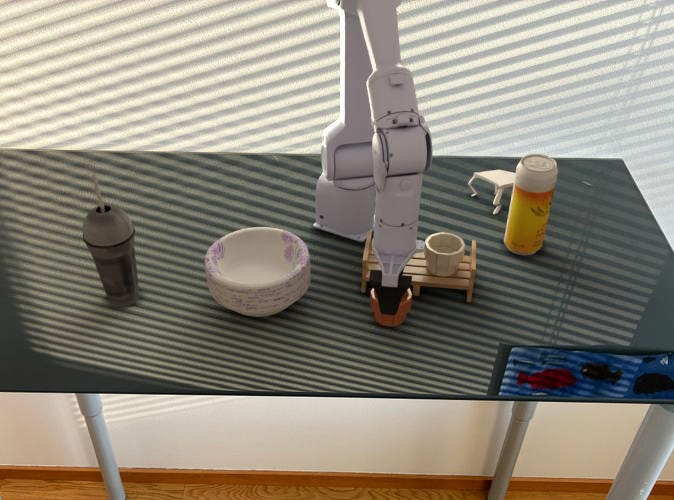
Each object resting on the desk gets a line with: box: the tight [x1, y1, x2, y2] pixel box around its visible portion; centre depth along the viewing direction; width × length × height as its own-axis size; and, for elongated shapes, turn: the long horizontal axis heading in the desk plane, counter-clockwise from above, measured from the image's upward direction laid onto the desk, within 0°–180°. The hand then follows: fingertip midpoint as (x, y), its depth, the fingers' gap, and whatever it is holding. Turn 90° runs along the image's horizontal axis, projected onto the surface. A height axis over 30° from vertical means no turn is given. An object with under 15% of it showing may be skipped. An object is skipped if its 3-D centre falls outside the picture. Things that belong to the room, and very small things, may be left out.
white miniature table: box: [467, 169, 516, 215], centre depth 132 cm, size 12×8×5 cm
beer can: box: [503, 153, 559, 256], centre depth 119 cm, size 6×6×15 cm
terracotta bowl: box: [369, 287, 413, 328], centre depth 110 cm, size 6×6×4 cm
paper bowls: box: [203, 226, 311, 318], centre depth 112 cm, size 15×15×8 cm
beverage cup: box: [82, 174, 140, 308], centre depth 108 cm, size 7×7×20 cm
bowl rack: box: [360, 232, 477, 303], centre depth 115 cm, size 8×16×6 cm, turn 81°
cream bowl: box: [424, 231, 466, 277], centre depth 113 cm, size 6×6×4 cm
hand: (390, 296), depth 109 cm, fingers open, 7 cm apart
